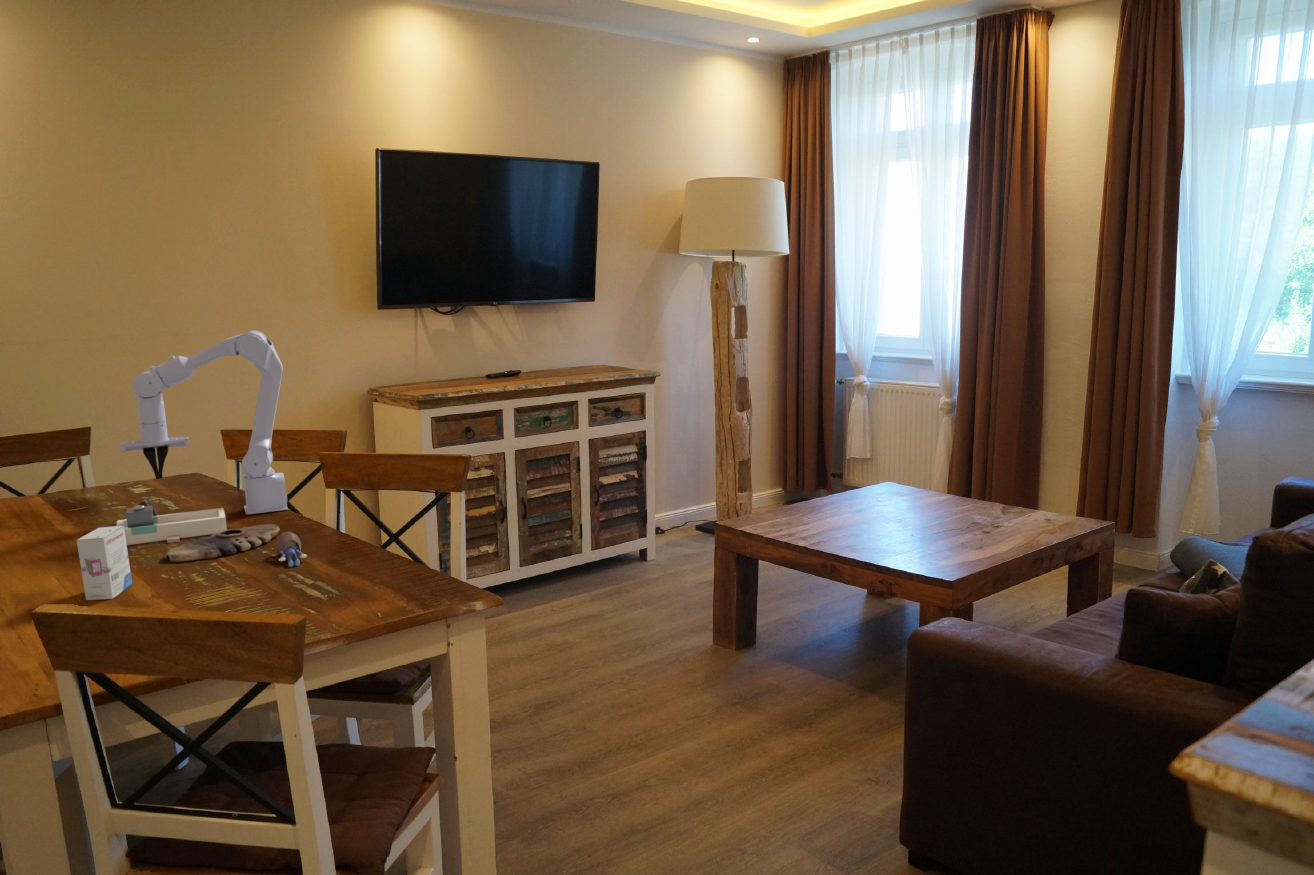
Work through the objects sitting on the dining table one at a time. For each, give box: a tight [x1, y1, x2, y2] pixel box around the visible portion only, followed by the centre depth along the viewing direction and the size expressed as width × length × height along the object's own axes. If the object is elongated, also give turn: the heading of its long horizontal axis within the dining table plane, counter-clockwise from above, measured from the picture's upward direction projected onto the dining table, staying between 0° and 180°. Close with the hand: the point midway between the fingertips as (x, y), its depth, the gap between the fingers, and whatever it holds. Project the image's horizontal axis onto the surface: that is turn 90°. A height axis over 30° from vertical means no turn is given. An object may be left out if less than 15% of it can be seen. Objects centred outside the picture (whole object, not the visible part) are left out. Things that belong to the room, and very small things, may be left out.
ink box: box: [76, 526, 133, 601], centre depth 180 cm, size 9×5×12 cm, turn 5°
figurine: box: [275, 531, 308, 568], centre depth 199 cm, size 6×5×12 cm
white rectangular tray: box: [116, 507, 228, 546], centre depth 218 cm, size 22×13×4 cm, turn 117°
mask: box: [163, 523, 281, 563], centre depth 209 cm, size 15×3×25 cm
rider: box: [125, 504, 154, 528], centre depth 216 cm, size 5×5×5 cm
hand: (159, 478), depth 232 cm, fingers closed
